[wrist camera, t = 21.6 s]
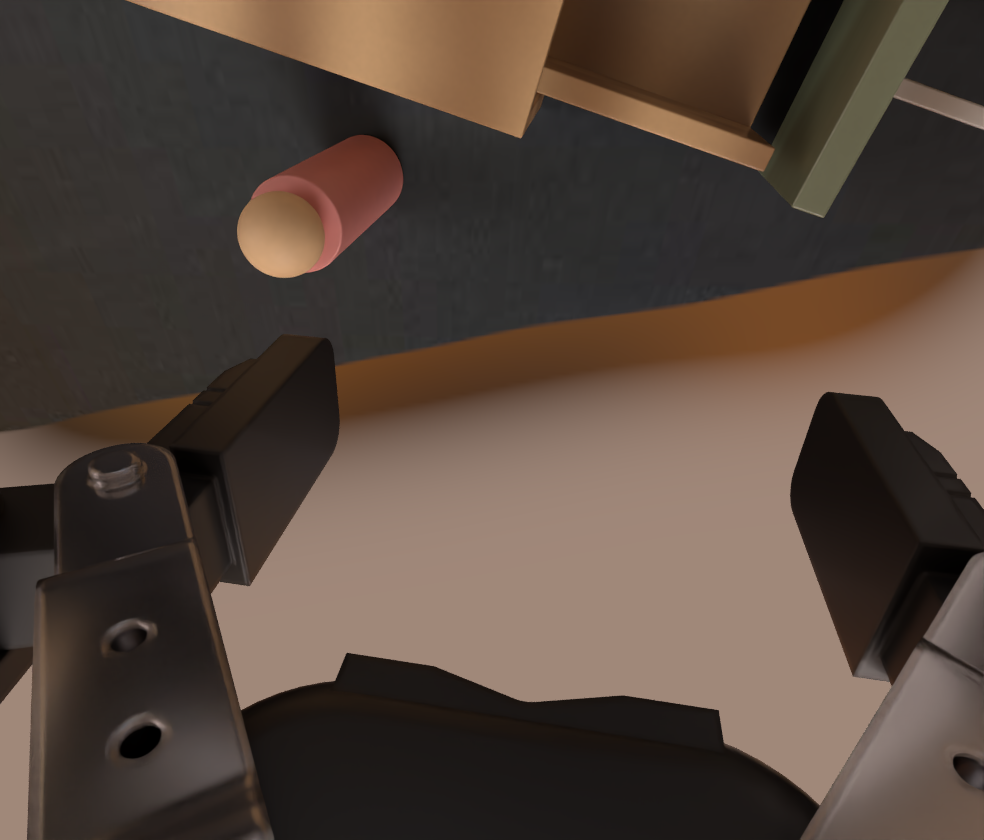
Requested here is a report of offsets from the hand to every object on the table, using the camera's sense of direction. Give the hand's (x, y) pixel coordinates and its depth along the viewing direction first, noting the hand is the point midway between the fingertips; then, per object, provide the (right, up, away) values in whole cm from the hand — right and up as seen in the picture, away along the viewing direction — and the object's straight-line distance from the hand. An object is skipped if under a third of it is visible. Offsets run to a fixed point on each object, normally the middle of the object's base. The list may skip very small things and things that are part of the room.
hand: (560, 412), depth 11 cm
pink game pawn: (-7, +11, +19) cm, 23 cm away
